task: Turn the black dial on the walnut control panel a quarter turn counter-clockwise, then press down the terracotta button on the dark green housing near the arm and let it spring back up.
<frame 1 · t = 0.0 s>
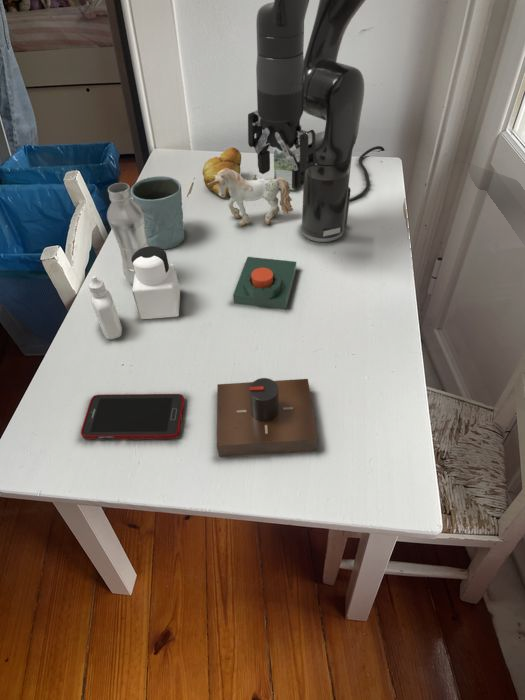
hand: (280, 179, 89), 17 cm above the table, tool pointing down, fingers open, 8 cm apart
start button: (262, 277, 89), point 4 cm above the table, slide at 0.1 cm
syrup box: (287, 185, 122), on the table
eye dropper bottle: (112, 330, 88), on the table
dial: (264, 399, 69), point 6 cm above the table, hinge at 0.0°
medicine bottle: (161, 306, 92), on the table
button housing: (266, 286, 95), on the table
dial panel: (265, 422, 73), on the table
cell phone: (135, 418, 74), on the table
unicorn figurine: (252, 228, 109), on the table
bread roll: (222, 187, 122), on the table
plastic bottle: (143, 280, 97), on the table
teal plant pot: (166, 238, 107), on the table
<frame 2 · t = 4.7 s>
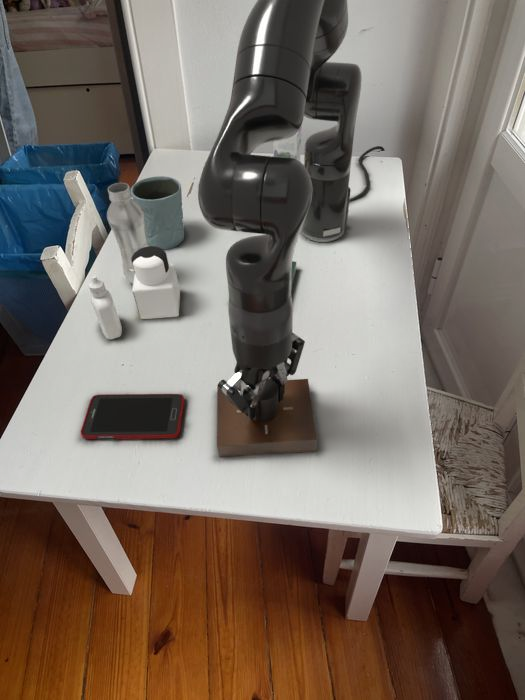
hand: (264, 406, 70), 4 cm above the table, tool pointing down, fingers closed on dial, 4 cm apart
dial: (264, 399, 69), point 6 cm above the table, hinge at 0.0°, touching gripper
everything else where it was.
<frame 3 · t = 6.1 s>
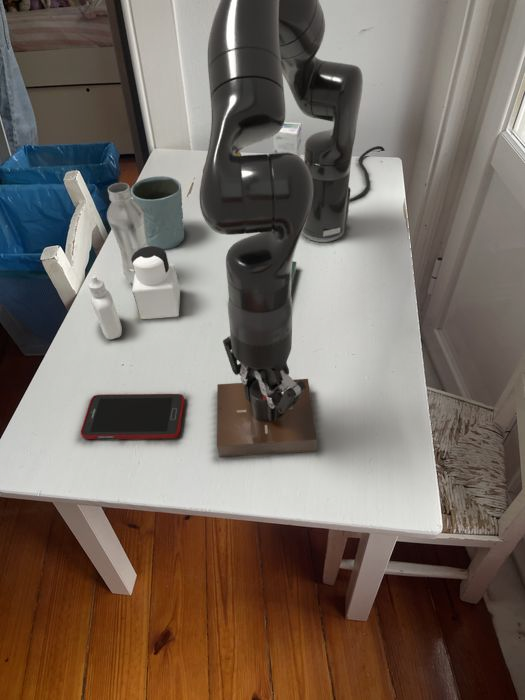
hand: (263, 406, 70), 4 cm above the table, tool pointing down, fingers closed on dial, 4 cm apart
dial: (264, 399, 69), point 6 cm above the table, hinge at 93.7°, touching gripper
everything else where it was.
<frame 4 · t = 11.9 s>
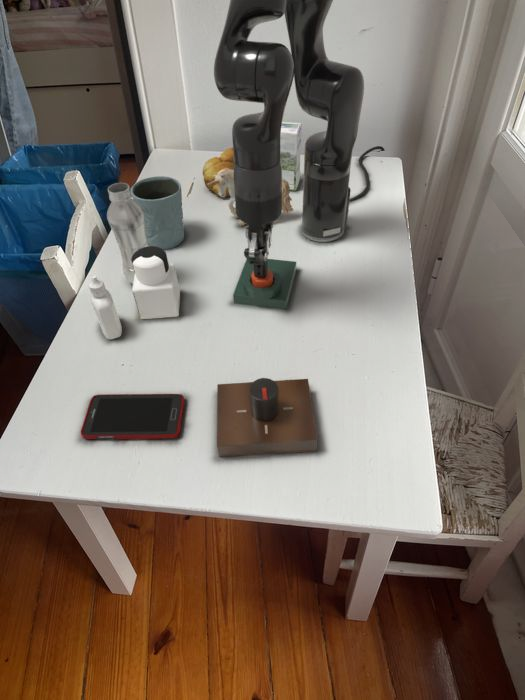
hand: (260, 274, 89), 5 cm above the table, tool pointing down, fingers closed
start button: (262, 278, 89), point 4 cm above the table, slide at -0.1 cm, touching gripper
dial: (264, 399, 69), point 6 cm above the table, hinge at 93.3°
everything else where it was.
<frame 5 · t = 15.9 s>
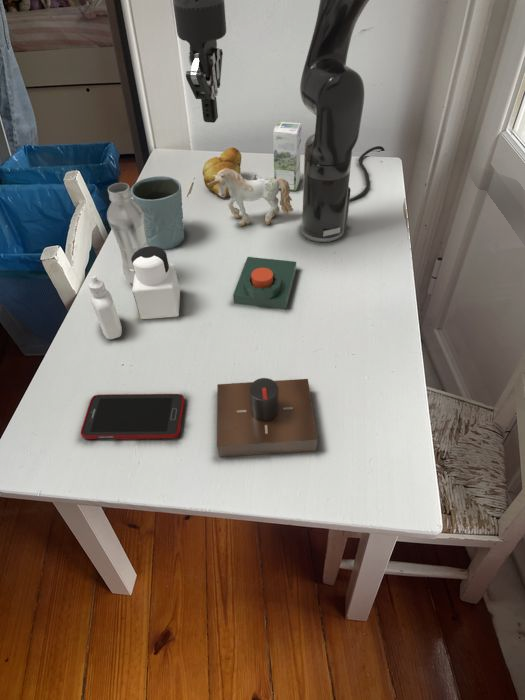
hand: (211, 120, 83), 27 cm above the table, tool pointing down, fingers closed
start button: (262, 278, 89), point 4 cm above the table, slide at 0.1 cm
everything else where it was.
at the end: dial at +93° (first picture: +0°); start button pushed in 1.1 cm at the most during the clip, back to where it started at the end; start button slide at 0.1 cm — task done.
